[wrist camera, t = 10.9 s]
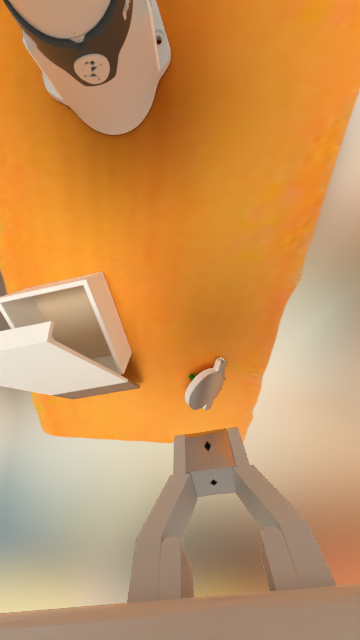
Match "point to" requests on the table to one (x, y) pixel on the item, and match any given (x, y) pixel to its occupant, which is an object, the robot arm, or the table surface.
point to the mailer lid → (52, 366)
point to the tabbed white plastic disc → (206, 386)
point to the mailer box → (74, 317)
